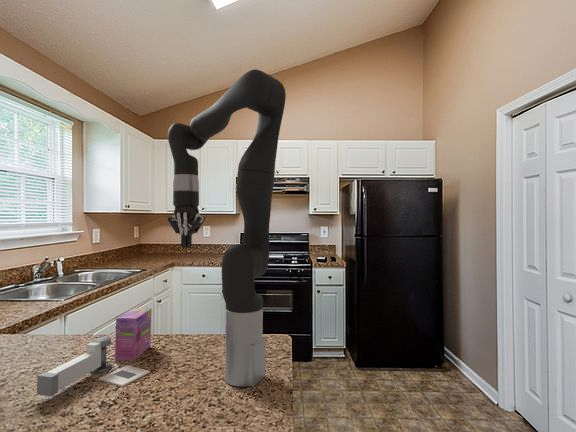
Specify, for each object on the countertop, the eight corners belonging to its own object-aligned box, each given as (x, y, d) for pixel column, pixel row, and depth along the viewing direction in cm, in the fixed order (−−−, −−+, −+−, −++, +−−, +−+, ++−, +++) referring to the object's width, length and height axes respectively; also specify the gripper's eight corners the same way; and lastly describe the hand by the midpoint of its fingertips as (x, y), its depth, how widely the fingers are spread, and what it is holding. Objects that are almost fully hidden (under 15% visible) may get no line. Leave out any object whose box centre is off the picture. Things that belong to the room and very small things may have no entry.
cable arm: (99, 359, 87) (100, 336, 87) (114, 360, 86) (114, 337, 87) (35, 394, 69) (36, 365, 69) (52, 396, 68) (53, 367, 69)
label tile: (149, 372, 83) (149, 370, 83) (122, 386, 76) (122, 384, 76) (127, 366, 86) (127, 364, 86) (99, 379, 79) (99, 377, 79)
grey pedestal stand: (116, 367, 86) (116, 344, 86) (98, 375, 81) (98, 350, 82) (103, 363, 88) (103, 341, 88) (85, 371, 83) (85, 347, 84)
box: (134, 361, 90) (135, 318, 90) (114, 360, 90) (115, 317, 90) (151, 346, 100) (152, 308, 100) (133, 346, 100) (133, 307, 101)
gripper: (211, 190, 99) (211, 247, 99) (178, 192, 105) (178, 246, 104) (195, 188, 93) (195, 249, 92) (160, 190, 98) (160, 248, 97)
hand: (186, 247), depth 98 cm, fingers closed
